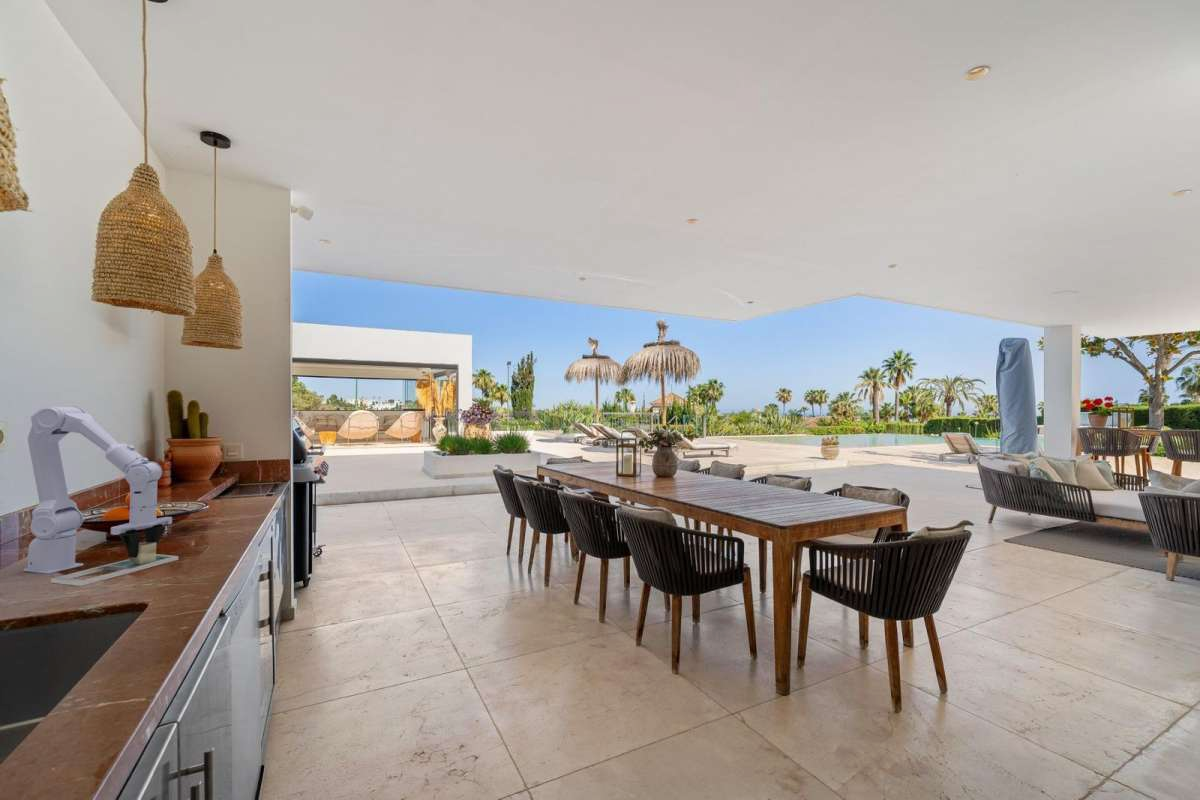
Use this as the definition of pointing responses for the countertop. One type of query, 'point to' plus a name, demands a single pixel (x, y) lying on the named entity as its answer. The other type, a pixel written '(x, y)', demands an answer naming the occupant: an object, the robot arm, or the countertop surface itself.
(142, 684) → the countertop surface
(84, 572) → the rail frame
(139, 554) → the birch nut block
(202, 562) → the countertop surface
